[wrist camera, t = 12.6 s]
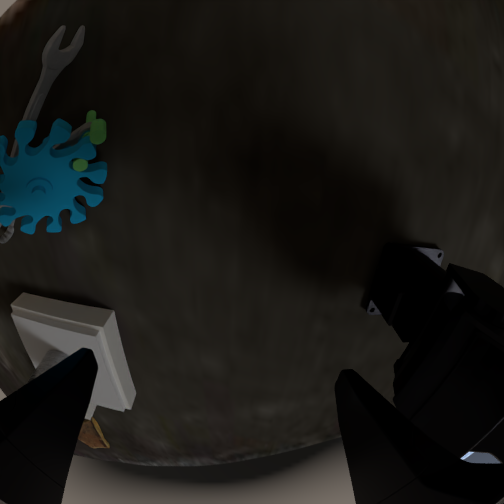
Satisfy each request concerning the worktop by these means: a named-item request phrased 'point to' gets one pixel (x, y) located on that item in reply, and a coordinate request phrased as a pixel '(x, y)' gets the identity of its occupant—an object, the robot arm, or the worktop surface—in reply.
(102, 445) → the shard
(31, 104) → the combination wrench
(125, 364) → the kitchen scale
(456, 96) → the worktop surface
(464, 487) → the robot arm
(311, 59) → the worktop surface
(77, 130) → the gear
